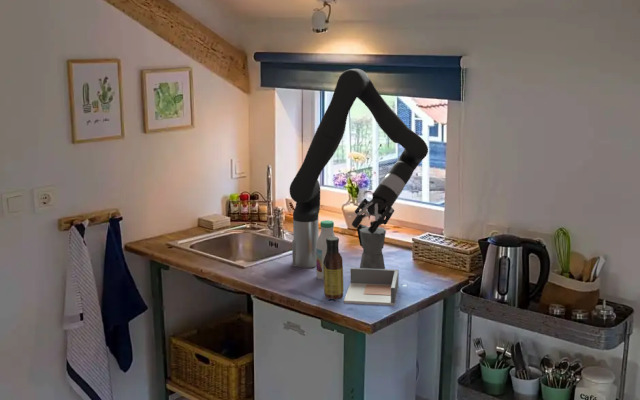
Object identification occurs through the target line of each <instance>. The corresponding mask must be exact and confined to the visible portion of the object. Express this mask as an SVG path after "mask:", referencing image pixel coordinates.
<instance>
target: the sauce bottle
mask: <svg viewBox="0 0 640 400" xmlns="http://www.w3.org/2000/svg"><path fill="white" fill-rule="evenodd" d="M339 242H340V239H339V237H338V236H335V237H327V238H326V243H327V252H326V255H325V258H324V262H323V267H324V280H323V293H324V297H325V298H327V299H329V300H338V299H341V298H342V297H344V290H345V289H344V264H343V263H344V262H343V256H342V255H341V253H340V252H339V250H340V249H339Z"/></svg>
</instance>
